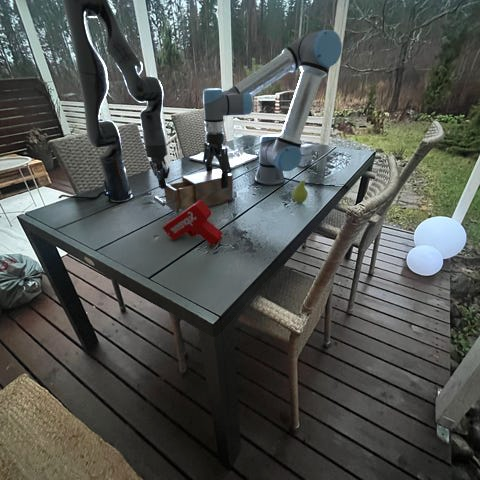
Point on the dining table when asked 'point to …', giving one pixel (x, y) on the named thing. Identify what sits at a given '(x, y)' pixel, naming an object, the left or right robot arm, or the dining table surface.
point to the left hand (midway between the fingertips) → (162, 188)
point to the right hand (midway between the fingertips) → (217, 184)
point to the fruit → (300, 192)
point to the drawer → (178, 196)
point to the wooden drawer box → (210, 187)
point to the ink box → (306, 154)
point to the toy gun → (194, 224)
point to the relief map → (234, 157)
